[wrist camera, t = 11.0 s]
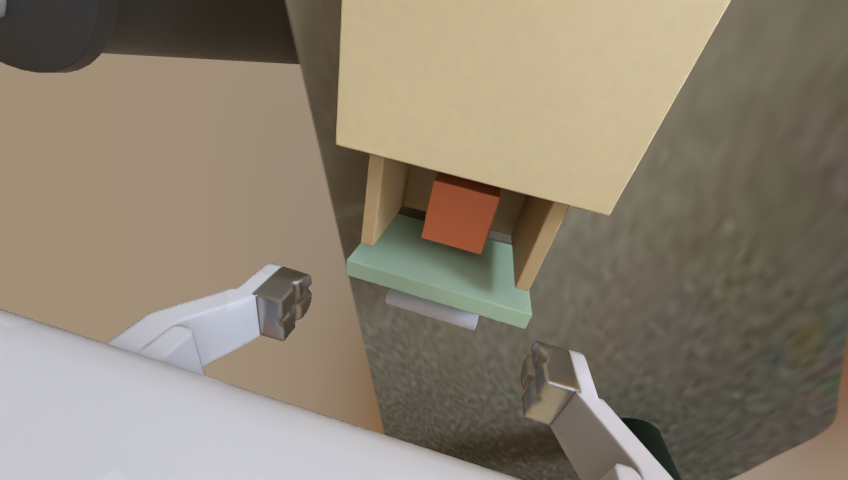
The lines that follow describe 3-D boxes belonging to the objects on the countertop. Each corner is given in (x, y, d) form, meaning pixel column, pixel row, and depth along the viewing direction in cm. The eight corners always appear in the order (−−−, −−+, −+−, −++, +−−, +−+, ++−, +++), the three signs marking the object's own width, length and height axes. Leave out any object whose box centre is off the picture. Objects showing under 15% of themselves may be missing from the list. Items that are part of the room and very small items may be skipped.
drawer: (501, 299, 27) (501, 374, 20) (379, 263, 28) (341, 323, 21) (598, 74, 18) (657, 74, 11) (412, 34, 19) (365, 11, 12)
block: (432, 213, 23) (420, 237, 20) (444, 162, 21) (433, 179, 18) (483, 227, 23) (480, 255, 19) (500, 177, 21) (500, 197, 17)
